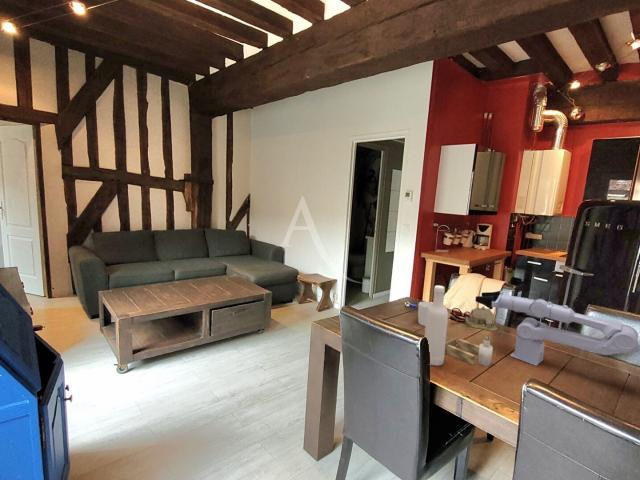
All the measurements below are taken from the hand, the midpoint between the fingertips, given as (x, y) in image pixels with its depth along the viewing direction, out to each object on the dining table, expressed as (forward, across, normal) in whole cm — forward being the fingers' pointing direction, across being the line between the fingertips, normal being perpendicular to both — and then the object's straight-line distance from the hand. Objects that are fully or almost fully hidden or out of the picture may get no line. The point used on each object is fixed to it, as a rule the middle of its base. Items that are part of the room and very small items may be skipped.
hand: (478, 296), depth 144 cm
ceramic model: (+5, -20, +21) cm, 30 cm away
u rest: (0, +16, +20) cm, 26 cm away
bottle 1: (+6, +31, +20) cm, 37 cm away
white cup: (+26, -2, +20) cm, 32 cm away
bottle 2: (-8, +17, +21) cm, 28 cm away
